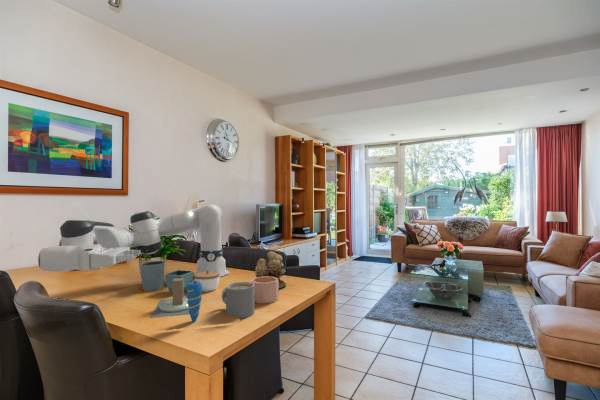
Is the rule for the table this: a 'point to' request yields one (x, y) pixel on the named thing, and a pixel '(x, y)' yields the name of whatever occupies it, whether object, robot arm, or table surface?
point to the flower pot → (176, 275)
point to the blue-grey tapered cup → (152, 275)
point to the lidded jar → (208, 280)
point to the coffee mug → (239, 299)
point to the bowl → (265, 289)
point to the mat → (159, 313)
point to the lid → (176, 298)
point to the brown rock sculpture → (271, 268)
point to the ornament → (194, 298)
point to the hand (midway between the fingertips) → (136, 254)
